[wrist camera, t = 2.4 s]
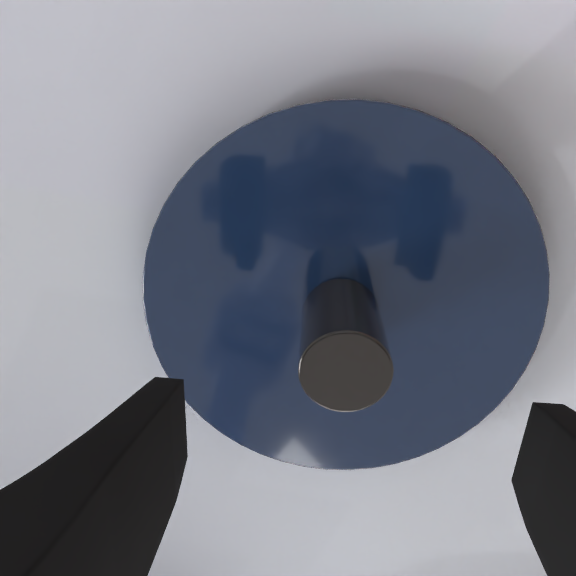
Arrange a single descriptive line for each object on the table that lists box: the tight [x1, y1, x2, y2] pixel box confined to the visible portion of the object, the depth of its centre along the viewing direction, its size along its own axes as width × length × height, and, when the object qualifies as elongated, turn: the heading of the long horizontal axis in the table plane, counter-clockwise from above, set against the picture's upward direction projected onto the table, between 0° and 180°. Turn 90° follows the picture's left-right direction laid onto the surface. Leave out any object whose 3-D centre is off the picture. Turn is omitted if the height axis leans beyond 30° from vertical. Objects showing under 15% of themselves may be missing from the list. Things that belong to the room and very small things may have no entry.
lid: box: [143, 99, 549, 470], centre depth 15 cm, size 13×13×5 cm
